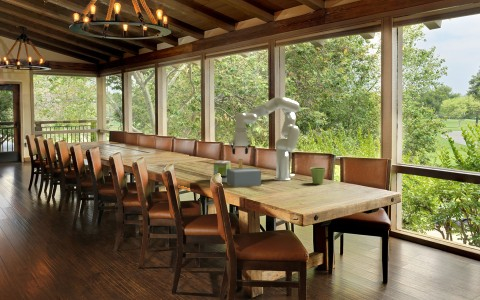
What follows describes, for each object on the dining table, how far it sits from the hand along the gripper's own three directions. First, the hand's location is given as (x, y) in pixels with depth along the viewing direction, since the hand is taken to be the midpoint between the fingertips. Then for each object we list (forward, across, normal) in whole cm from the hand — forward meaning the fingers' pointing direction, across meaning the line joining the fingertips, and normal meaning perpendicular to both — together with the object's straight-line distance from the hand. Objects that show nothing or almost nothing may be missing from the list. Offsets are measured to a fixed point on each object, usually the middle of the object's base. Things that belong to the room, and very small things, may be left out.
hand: (240, 153), depth 306 cm
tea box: (+22, +8, -15) cm, 28 cm away
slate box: (+22, -1, +6) cm, 22 cm away
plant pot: (+21, -54, +20) cm, 61 cm away
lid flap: (+12, -1, +6) cm, 13 cm away
